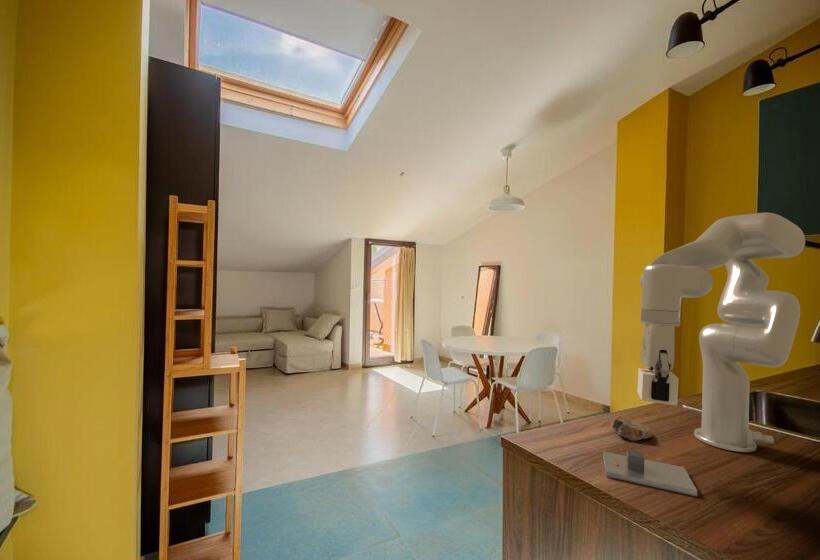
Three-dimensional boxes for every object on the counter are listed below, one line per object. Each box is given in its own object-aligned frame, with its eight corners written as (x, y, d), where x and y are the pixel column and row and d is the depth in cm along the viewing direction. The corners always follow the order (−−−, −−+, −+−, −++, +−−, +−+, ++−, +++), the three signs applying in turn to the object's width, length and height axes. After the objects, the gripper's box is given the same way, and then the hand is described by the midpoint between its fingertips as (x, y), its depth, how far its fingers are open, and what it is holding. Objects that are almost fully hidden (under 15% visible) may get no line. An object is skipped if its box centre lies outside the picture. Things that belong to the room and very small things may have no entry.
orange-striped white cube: (670, 397, 85) (671, 371, 85) (677, 405, 79) (678, 377, 79) (637, 392, 88) (638, 367, 88) (641, 400, 82) (643, 372, 82)
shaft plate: (683, 472, 81) (684, 453, 81) (697, 496, 72) (697, 475, 72) (603, 456, 88) (603, 439, 88) (606, 476, 79) (606, 457, 79)
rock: (622, 443, 96) (663, 438, 95) (616, 419, 98) (656, 415, 96) (611, 437, 104) (648, 433, 103) (605, 416, 106) (641, 411, 105)
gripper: (635, 314, 93) (632, 384, 93) (647, 319, 77) (643, 403, 77) (670, 317, 90) (667, 389, 90) (690, 322, 74) (686, 410, 74)
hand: (656, 395), depth 83 cm, fingers closed on orange-striped white cube, 6 cm apart
